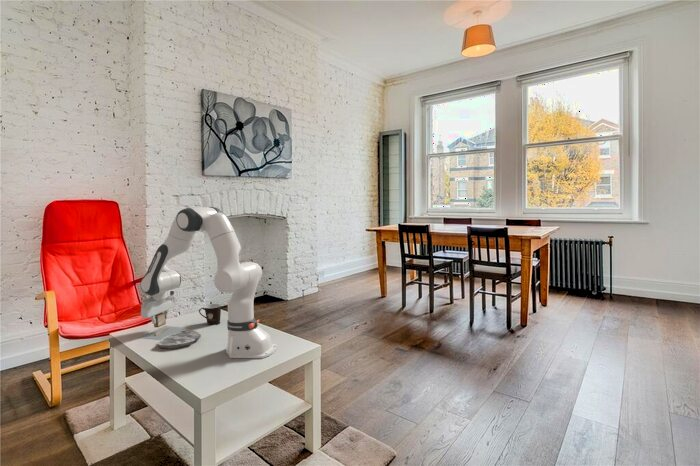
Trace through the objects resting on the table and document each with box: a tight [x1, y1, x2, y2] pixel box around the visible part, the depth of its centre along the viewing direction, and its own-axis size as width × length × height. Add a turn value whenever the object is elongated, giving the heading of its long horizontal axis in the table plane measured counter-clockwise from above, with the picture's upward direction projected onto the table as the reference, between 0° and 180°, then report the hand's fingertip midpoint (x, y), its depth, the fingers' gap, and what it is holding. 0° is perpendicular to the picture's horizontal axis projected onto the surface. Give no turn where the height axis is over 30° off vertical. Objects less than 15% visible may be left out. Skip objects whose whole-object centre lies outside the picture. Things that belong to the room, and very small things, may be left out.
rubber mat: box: [138, 325, 187, 341], centre depth 189 cm, size 14×18×1 cm
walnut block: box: [153, 312, 167, 328], centre depth 189 cm, size 2×6×6 cm, turn 165°
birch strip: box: [155, 328, 169, 336], centre depth 189 cm, size 1×9×1 cm, turn 166°
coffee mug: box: [198, 303, 222, 326], centre depth 203 cm, size 12×9×10 cm
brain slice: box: [156, 329, 202, 350], centre depth 176 cm, size 20×17×3 cm
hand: (159, 321), depth 189 cm, fingers closed on walnut block, 5 cm apart
